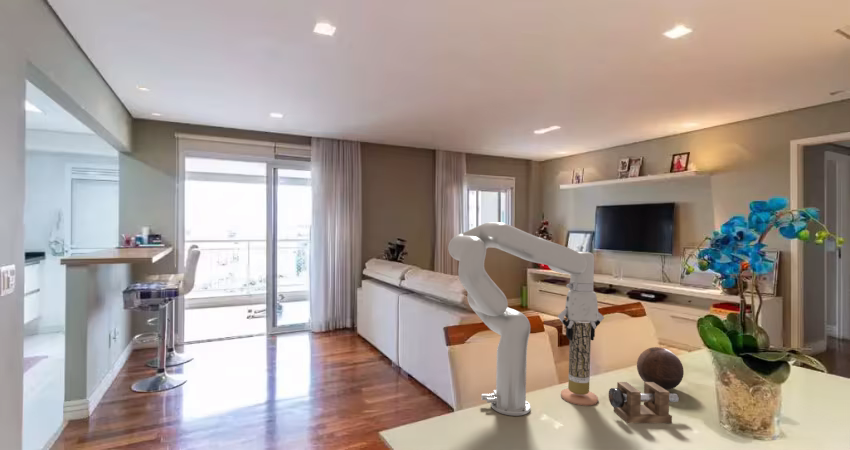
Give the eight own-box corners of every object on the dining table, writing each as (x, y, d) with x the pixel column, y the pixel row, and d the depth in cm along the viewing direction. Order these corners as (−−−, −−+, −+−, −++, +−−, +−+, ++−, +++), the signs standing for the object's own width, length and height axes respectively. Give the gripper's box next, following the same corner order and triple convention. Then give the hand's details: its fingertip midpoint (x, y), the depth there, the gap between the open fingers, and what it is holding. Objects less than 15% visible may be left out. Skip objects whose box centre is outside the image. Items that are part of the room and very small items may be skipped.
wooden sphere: (693, 396, 146) (694, 354, 146) (655, 398, 144) (656, 355, 144) (662, 380, 161) (663, 341, 161) (627, 381, 158) (628, 342, 158)
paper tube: (590, 396, 138) (593, 322, 138) (569, 394, 139) (571, 320, 139) (587, 388, 145) (589, 317, 145) (566, 386, 146) (568, 316, 146)
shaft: (617, 410, 126) (618, 392, 126) (608, 402, 131) (608, 385, 131) (682, 410, 127) (682, 392, 127) (670, 402, 132) (670, 385, 132)
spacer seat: (569, 405, 136) (569, 402, 136) (555, 390, 148) (555, 388, 148) (604, 405, 136) (604, 402, 136) (588, 390, 148) (588, 388, 148)
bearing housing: (627, 423, 125) (628, 392, 125) (613, 411, 133) (614, 382, 132) (671, 422, 125) (672, 392, 125) (655, 410, 133) (656, 381, 133)
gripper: (561, 288, 138) (559, 342, 138) (611, 289, 139) (610, 342, 139) (553, 285, 145) (551, 335, 145) (600, 286, 146) (599, 336, 146)
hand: (580, 338), depth 142 cm, fingers closed on paper tube, 6 cm apart
